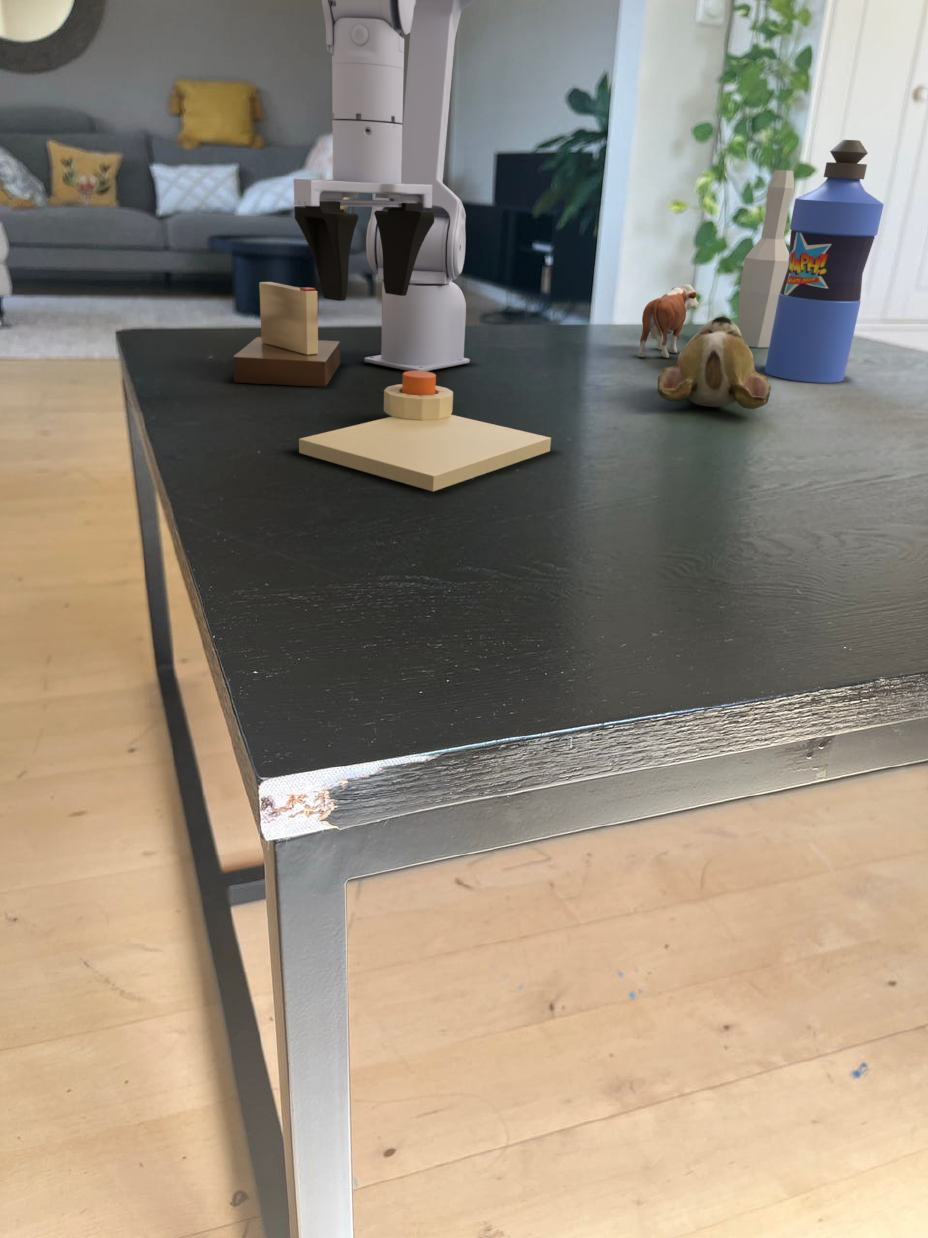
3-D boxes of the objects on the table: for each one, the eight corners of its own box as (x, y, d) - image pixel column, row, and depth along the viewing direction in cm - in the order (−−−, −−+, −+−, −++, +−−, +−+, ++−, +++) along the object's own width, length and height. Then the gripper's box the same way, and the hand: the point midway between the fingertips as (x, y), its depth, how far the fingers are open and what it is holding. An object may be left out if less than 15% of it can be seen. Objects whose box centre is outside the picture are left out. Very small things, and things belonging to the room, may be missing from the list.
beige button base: (413, 414, 85) (414, 380, 84) (559, 449, 77) (562, 412, 76) (277, 447, 73) (276, 409, 72) (432, 492, 65) (434, 449, 64)
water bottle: (809, 385, 108) (860, 137, 97) (746, 369, 115) (788, 137, 104) (861, 379, 112) (915, 143, 102) (798, 365, 119) (842, 142, 109)
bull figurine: (697, 349, 126) (707, 284, 123) (659, 362, 116) (668, 292, 112) (666, 344, 128) (675, 281, 125) (626, 357, 118) (634, 288, 114)
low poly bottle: (782, 349, 130) (816, 171, 120) (736, 347, 130) (766, 168, 120) (769, 341, 136) (801, 171, 126) (725, 339, 136) (753, 168, 126)
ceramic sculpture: (776, 307, 97) (784, 338, 84) (761, 391, 101) (766, 433, 89) (670, 300, 99) (662, 328, 86) (660, 383, 103) (650, 422, 91)
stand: (257, 360, 104) (256, 336, 103) (340, 364, 104) (340, 341, 103) (233, 382, 93) (232, 356, 92) (325, 387, 94) (325, 361, 93)
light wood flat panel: (261, 342, 100) (259, 279, 97) (272, 341, 101) (270, 279, 98) (307, 354, 95) (305, 289, 92) (318, 353, 96) (317, 288, 93)
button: (416, 389, 82) (417, 369, 82) (441, 395, 81) (442, 374, 80) (395, 394, 80) (395, 373, 80) (420, 400, 79) (421, 378, 78)
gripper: (336, 116, 71) (337, 307, 76) (461, 129, 81) (453, 297, 87) (274, 115, 74) (279, 297, 80) (400, 128, 85) (397, 288, 91)
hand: (366, 296), depth 84 cm, fingers open, 7 cm apart
